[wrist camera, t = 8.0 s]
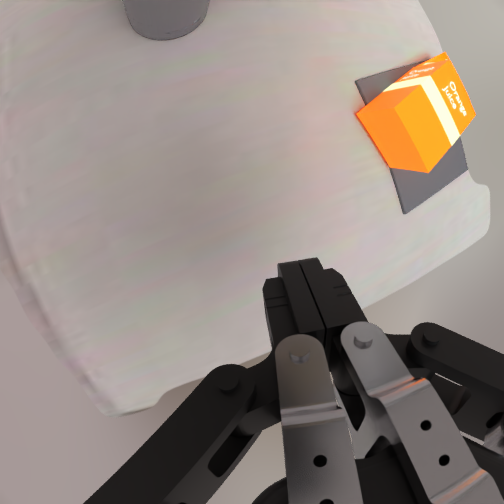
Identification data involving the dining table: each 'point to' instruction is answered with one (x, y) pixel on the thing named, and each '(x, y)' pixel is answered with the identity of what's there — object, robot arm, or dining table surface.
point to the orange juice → (419, 115)
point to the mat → (408, 181)
